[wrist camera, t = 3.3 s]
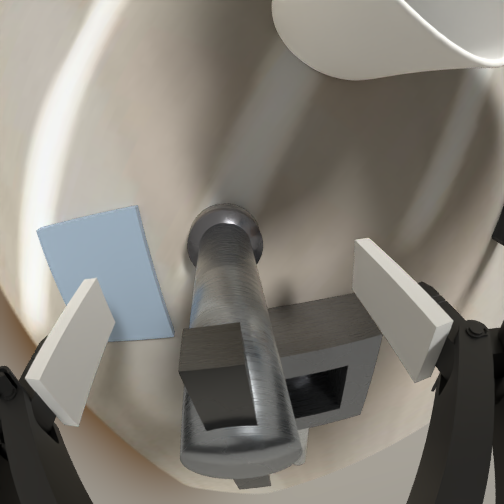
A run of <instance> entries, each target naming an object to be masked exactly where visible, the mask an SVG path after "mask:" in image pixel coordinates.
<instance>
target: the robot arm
mask: <svg viewBox="0 0 504 504" xmlns="http://www.w3.org/2000/svg"><path fill="white" fill-rule="evenodd" d="M352 290H353V291H354V292H355V294H356V295H357V297H358V298H359V300H360V301H361V302H362V304H363V305H364V307H365V308H366V310H367V311H368V312H369V314H370V315H371V317H372V318H373V320H374V321H375V323H376V324H377V326H378V327H379V329H380V330H381V332H382V333H383V335H384V336H385V338H386V339H387V341H388V342H389V344H390V345H391V347H392V348H393V350H394V351H395V353H396V354H397V356H398V357H399V359H400V361H401V362H402V364H403V365H404V367H405V368H406V370H407V372H408V373H409V375H410V376H411V378H412V380H413V381H414V383H416V382H419V381H421V380H424V379H426V378H429V377H431V375H432V373H433V370H434V368H435V366H436V367H437V368H438V370H439V371H440V374H439V376H438V378H437V380H436V382H435V384H434V386H433V388H432V390H431V391H434V390H435V388H436V392H435V399H434V405H433V410H432V415H431V420H430V426H429V430H428V434H427V439H426V443H425V447H424V450H423V454H422V458H421V461H420V465H419V468H418V472H417V475H416V478H415V481H414V484H413V487H412V490H411V493H410V496H409V498H408V501H407V503H406V504H482V503H483V499H484V495H485V489H486V485H487V479H488V473H489V468H490V461H491V453H492V447H493V456H494V468H495V488H496V504H504V321H503V323H502V325H501V328H493V329H488V328H487V327H486V326H485V325H484V324H482V323H481V322H478V321H475V320H467V321H466V320H465V319H464V318H463V317H462V316H461V315H460V314H459V313H458V312H457V311H456V310H455V309H454V308H453V307H452V306H451V305H450V304H449V303H448V302H447V301H445V299H444V298H443V297H442V296H440V295H439V293H438V292H437V291H436V290H435V289H434V288H433V287H431V286H429V285H428V284H426V283H424V282H419V283H417V282H416V281H415V280H413V279H412V278H411V277H410V276H409V275H408V274H407V273H406V272H405V271H404V270H403V269H402V268H401V267H400V266H399V265H398V264H397V263H396V262H395V261H394V260H393V259H392V258H390V257H389V256H388V255H387V254H386V253H385V252H384V251H383V250H382V249H381V248H380V247H378V246H377V245H376V244H375V243H374V242H373V241H372V240H371V239H370V238H364V239H357V240H355V246H354V265H353V279H352ZM114 324H115V320H114V318H113V316H112V314H111V311H110V309H109V307H108V304H107V302H106V300H105V297H104V295H103V292H102V290H101V287H100V285H99V282H98V279H97V278H91V279H84V281H83V282H82V284H81V285H80V286H79V288H78V289H77V291H76V292H75V294H74V295H73V297H72V298H71V300H70V301H69V303H68V304H67V306H66V308H65V309H64V311H63V312H62V314H61V315H60V317H59V319H58V320H57V322H56V323H55V325H54V327H53V328H52V330H51V332H50V333H49V335H48V336H46V337H45V338H44V339H43V340H42V341H41V342H40V343H39V345H38V347H37V348H36V350H35V353H34V354H33V355H32V357H31V360H30V361H29V363H28V365H27V366H26V368H25V370H24V372H23V374H22V376H21V378H20V380H19V381H18V380H17V378H16V377H15V376H14V374H13V373H12V372H11V370H10V369H9V368H8V367H7V366H1V367H0V504H93V503H92V501H91V499H90V497H89V495H88V493H87V492H86V490H85V488H84V486H83V484H82V482H81V480H80V478H79V476H78V474H77V472H76V469H75V467H74V465H73V463H72V461H71V459H70V456H69V454H68V452H67V449H66V447H65V444H64V442H63V439H62V436H61V434H60V431H59V428H58V427H57V425H56V424H55V423H54V420H55V418H56V417H57V418H58V419H59V420H60V421H61V422H62V423H63V424H64V425H70V426H77V427H79V424H80V421H81V417H82V414H83V411H84V408H85V404H86V401H87V398H88V395H89V392H90V389H91V386H92V383H93V380H94V377H95V374H96V372H97V369H98V366H99V363H100V360H101V358H102V355H103V352H104V350H105V347H106V345H107V342H108V339H109V337H110V334H111V332H112V329H113V327H114Z"/></svg>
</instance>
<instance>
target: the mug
mask: <svg viewBox="0 0 504 504" xmlns="http://www.w3.org/2000/svg"><path fill="white" fill-rule="evenodd" d="M272 17H273V22H274V25H275V28H276V30H277V32H278V34H279V36H280V38H281V39H282V41H283V42H284V44H285V45H286V46H287V47H288V49H289V50H290V51H291V52H292V53H293V54H294V55H295V56H296V57H297V58H299V59H300V60H301V61H302V62H304V63H305V64H306V65H308V66H310V67H311V68H313V69H315V70H317V71H319V72H321V73H323V74H326V75H328V76H331V77H335V78H339V79H345V80H369V79H376V78H382V77H388V76H394V75H401V74H408V73H416V72H424V71H434V70H446V69H462V68H496V67H502V66H504V0H272Z"/></svg>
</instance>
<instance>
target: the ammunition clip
mask: <svg viewBox="0 0 504 504" xmlns="http://www.w3.org/2000/svg"><path fill="white" fill-rule="evenodd" d="M492 239H494V240H495V241H497V242H498V243H500V244H502V245H504V207H503V209H502V212H501V215H500V217H499V220H498V222H497V225H496V227H495V230H494V232H493V235H492Z"/></svg>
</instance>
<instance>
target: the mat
mask: <svg viewBox="0 0 504 504" xmlns="http://www.w3.org/2000/svg"><path fill="white" fill-rule="evenodd" d="M37 234H38V237H39V240H40V243H41V246H42V249H43V252H44V254H45V257H46V260H47V262H48V265H49V267H50V270H51V272H52V275H53V277H54V280H55V282H56V284H57V287H58V289H59V291H60V293H61V296H62V298H63V300H64V302H65V304H66V306H67V304H68V303H69V301H70V300H71V298H72V297H73V295H74V294H75V292H76V291H77V289H78V288H79V286H80V285H81V284H82V282H83V281H84V279H91V278H97V279H98V282H99V285H100V287H101V290H102V292H103V295H104V297H105V300H106V302H107V304H108V307H109V309H110V311H111V314H112V316H113V318H114V320H115V324H114V327H113V329H112V332H111V334H110V337H109V339H108V342H114V341H130V340H144V339H156V338H167V337H174V333H175V331H174V328H173V325H172V323H171V320H170V317H169V314H168V311H167V308H166V305H165V302H164V299H163V295H162V292H161V289H160V286H159V283H158V279H157V276H156V273H155V269H154V266H153V262H152V259H151V255H150V252H149V248H148V244H147V240H146V237H145V233H144V229H143V225H142V221H141V217H140V213H139V208H138V205H136V206H131V207H126V208H121V209H116V210H112V211H107V212H103V213H98V214H94V215H89V216H85V217H81V218H77V219H73V220H68V221H64V222H60V223H57V224H53V225H49V226H45V227H41V228H39V229H38V230H37Z"/></svg>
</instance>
